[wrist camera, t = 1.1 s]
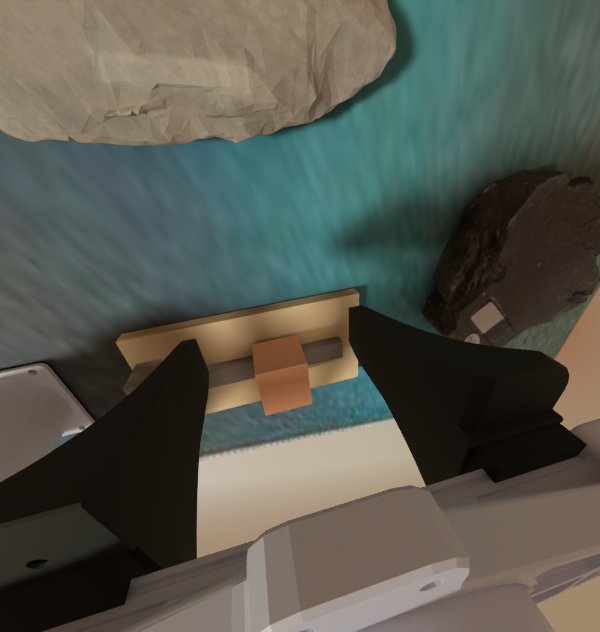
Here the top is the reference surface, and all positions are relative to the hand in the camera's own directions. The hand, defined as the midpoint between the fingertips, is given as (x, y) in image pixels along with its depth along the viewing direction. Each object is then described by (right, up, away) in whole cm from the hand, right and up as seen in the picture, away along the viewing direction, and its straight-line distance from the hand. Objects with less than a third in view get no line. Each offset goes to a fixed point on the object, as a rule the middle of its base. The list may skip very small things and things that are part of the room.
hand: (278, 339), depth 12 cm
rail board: (-3, -3, +12) cm, 13 cm away
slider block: (-1, -3, +11) cm, 12 cm away
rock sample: (+21, +6, +14) cm, 26 cm away
